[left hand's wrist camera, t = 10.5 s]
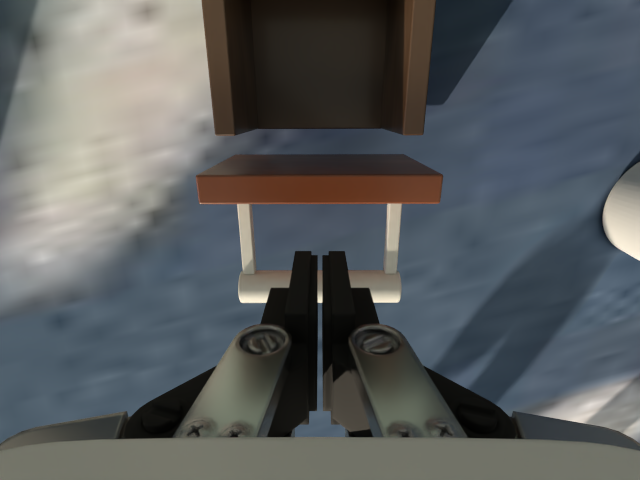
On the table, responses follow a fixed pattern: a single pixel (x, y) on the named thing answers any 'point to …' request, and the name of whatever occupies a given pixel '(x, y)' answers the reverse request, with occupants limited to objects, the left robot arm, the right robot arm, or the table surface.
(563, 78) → the table surface
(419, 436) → the left robot arm
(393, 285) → the drawer
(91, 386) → the table surface
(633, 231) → the coffee cup
